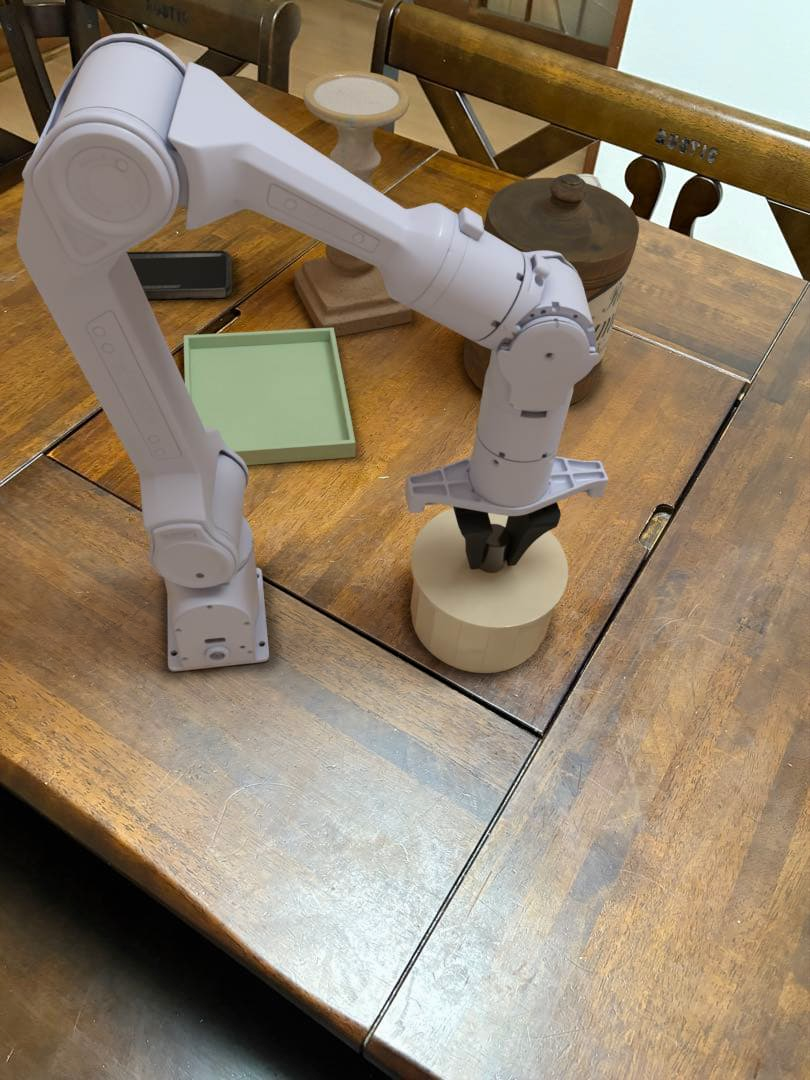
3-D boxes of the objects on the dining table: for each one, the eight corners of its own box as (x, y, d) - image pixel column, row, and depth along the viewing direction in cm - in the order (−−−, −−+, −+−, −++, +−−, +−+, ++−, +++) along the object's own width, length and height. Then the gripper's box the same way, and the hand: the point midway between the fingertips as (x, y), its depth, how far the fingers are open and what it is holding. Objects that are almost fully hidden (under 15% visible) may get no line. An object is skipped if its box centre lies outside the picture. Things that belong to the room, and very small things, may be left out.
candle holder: (413, 321, 104) (431, 112, 86) (322, 339, 101) (320, 126, 83) (379, 268, 110) (389, 62, 92) (292, 283, 107) (284, 74, 89)
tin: (561, 665, 76) (579, 617, 70) (424, 680, 74) (431, 633, 69) (526, 556, 83) (540, 506, 78) (401, 568, 81) (406, 517, 76)
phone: (100, 252, 107) (230, 250, 109) (102, 260, 108) (231, 258, 110) (94, 292, 102) (230, 289, 104) (96, 301, 103) (231, 298, 105)
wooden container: (582, 426, 95) (637, 237, 78) (446, 389, 97) (470, 197, 80) (608, 343, 104) (663, 158, 87) (483, 311, 106) (513, 124, 89)
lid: (585, 626, 71) (598, 592, 67) (425, 643, 69) (430, 609, 65) (542, 505, 79) (552, 470, 75) (398, 518, 77) (401, 482, 73)
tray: (355, 457, 90) (355, 442, 88) (188, 469, 87) (186, 454, 86) (333, 342, 101) (333, 327, 99) (185, 350, 98) (183, 335, 97)
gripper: (602, 387, 66) (564, 512, 76) (403, 400, 63) (392, 527, 74) (633, 456, 61) (589, 579, 72) (421, 473, 59) (407, 597, 69)
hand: (491, 557), depth 72 cm, fingers closed on lid, 2 cm apart
